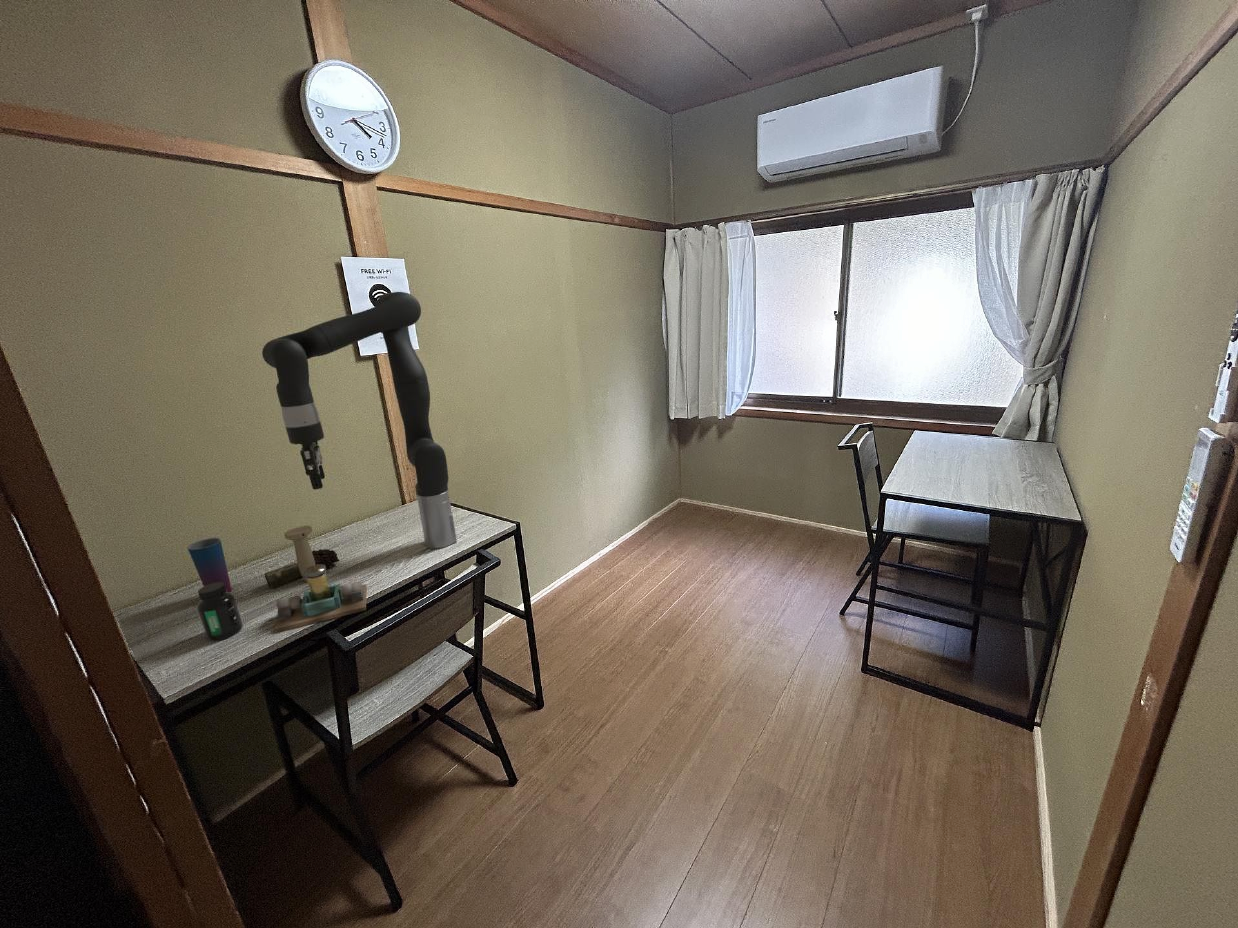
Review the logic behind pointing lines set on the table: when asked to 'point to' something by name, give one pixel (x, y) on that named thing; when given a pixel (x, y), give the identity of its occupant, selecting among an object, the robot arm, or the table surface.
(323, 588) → the cylinder
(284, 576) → the dark brown elongated piece
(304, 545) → the handle
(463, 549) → the table surface
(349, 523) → the table surface
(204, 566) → the cup
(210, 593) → the supplement bottle
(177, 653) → the table surface
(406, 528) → the table surface
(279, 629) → the shaft bench
